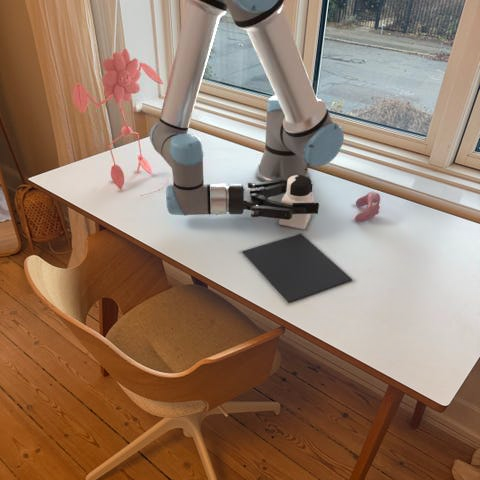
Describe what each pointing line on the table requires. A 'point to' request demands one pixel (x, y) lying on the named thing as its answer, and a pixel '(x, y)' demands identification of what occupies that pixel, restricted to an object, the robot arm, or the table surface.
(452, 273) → the table surface
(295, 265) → the mat
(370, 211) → the video game controller
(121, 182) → the figurine
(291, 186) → the medicine bottle
